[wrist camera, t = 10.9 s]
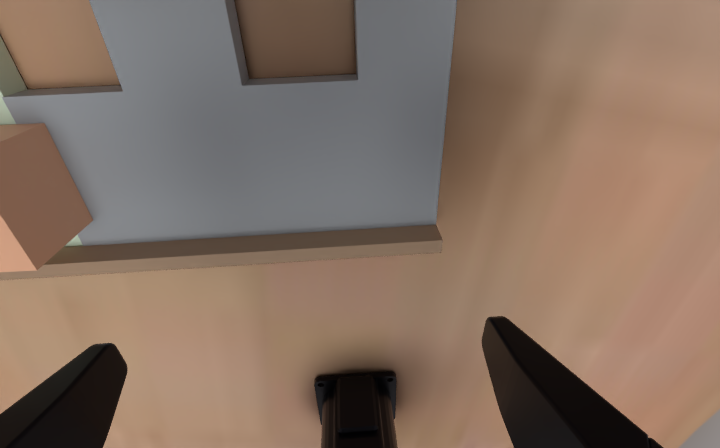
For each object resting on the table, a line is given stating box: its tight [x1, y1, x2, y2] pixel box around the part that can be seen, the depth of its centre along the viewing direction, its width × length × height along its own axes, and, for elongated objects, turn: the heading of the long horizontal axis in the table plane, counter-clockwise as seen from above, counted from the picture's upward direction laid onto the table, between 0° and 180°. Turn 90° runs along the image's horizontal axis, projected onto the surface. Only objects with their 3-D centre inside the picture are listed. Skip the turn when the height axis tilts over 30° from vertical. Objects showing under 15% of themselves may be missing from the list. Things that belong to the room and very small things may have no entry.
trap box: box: [0, 0, 457, 280], centre depth 16 cm, size 13×26×3 cm, turn 92°
